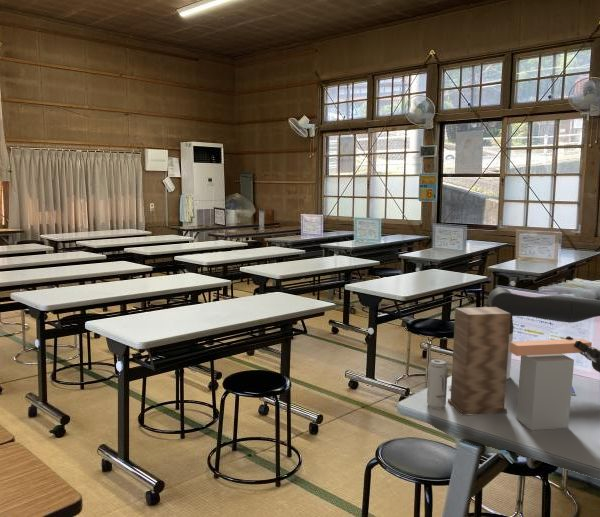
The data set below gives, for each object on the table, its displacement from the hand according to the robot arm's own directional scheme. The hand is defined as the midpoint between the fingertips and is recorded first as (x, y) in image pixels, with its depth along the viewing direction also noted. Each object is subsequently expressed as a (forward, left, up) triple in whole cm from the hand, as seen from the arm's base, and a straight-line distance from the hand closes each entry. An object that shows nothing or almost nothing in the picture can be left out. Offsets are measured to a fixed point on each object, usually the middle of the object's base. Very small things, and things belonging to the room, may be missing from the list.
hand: (571, 341), depth 166 cm
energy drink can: (-23, -31, -26) cm, 46 cm away
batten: (-1, -7, -3) cm, 7 cm away
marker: (-28, -12, -26) cm, 40 cm away
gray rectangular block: (-1, -7, -25) cm, 27 cm away
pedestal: (-18, -19, -25) cm, 36 cm away
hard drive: (-23, +21, -26) cm, 41 cm away
